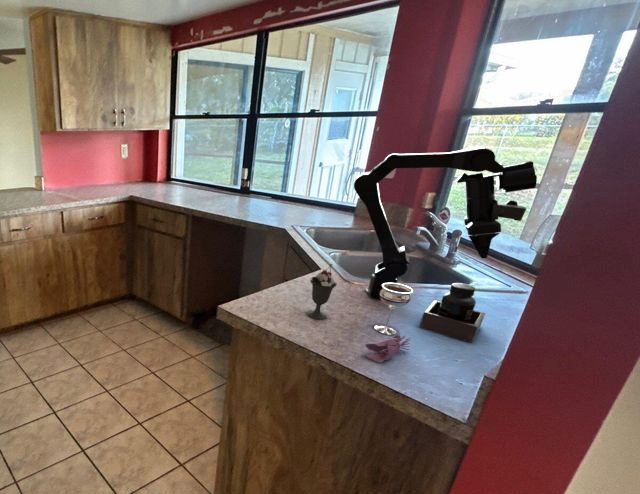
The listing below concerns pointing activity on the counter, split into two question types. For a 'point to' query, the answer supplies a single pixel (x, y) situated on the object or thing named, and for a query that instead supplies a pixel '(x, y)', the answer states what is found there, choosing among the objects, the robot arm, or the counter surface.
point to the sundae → (321, 292)
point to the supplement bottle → (458, 302)
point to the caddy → (451, 323)
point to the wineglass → (393, 302)
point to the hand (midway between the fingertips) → (482, 254)
